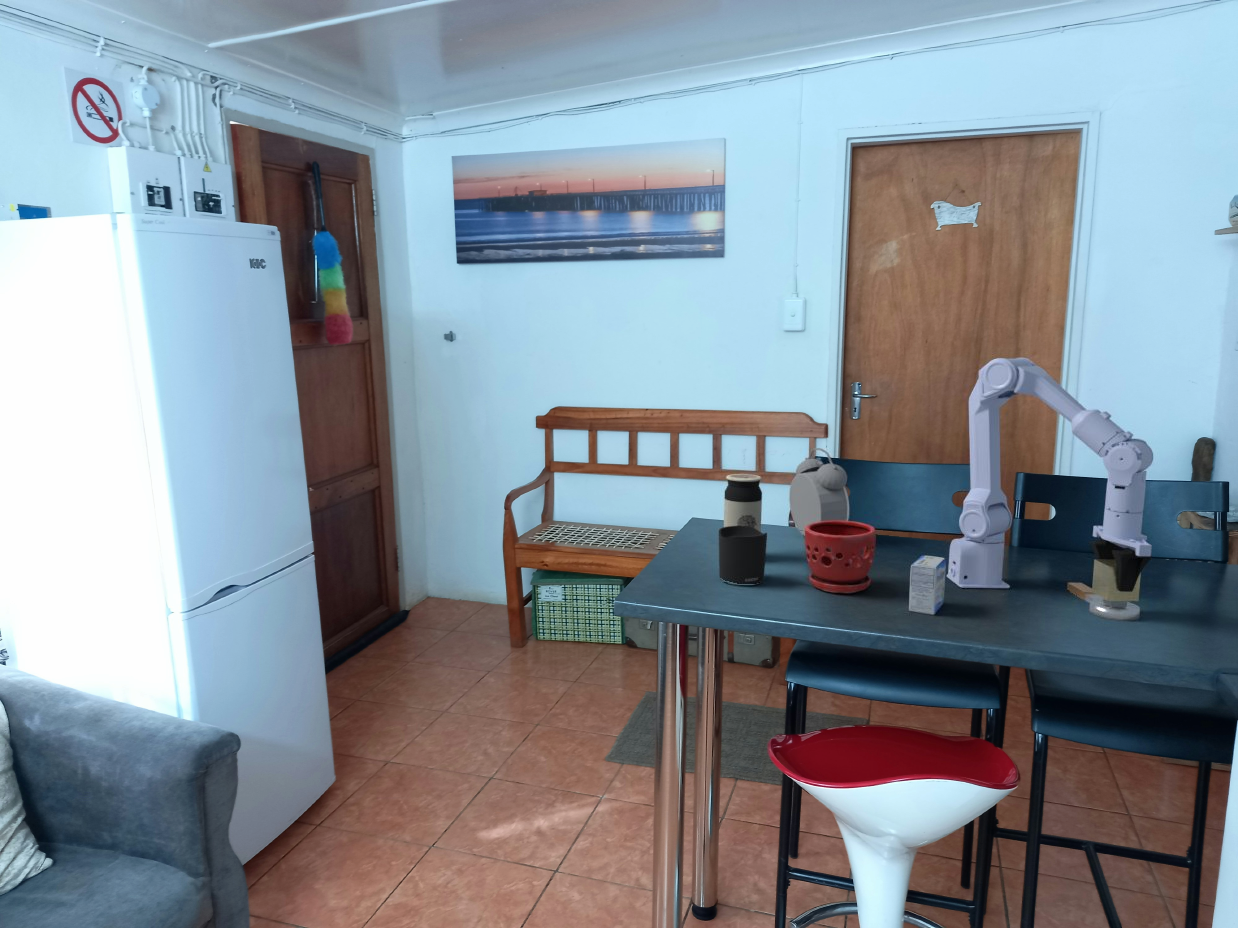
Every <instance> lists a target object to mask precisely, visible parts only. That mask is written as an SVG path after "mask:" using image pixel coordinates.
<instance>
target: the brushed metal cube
mask: <svg viewBox="0 0 1238 928" xmlns="http://www.w3.org/2000/svg"><path fill="white" fill-rule="evenodd" d="M1141 575H1142V572H1141V573H1140V575H1139V577H1138V579H1137V582H1136V584H1135V587H1134V589H1133V591H1132V592H1120V591H1119V589H1118V583H1117V566H1116V562H1115V559H1096V558H1095V559H1094V561H1093V575H1092V587H1091V588H1092V592H1093V593H1094V594H1096V595H1098V596H1100V597H1101V598H1103V599H1105V600H1107V601H1127V602H1139V600H1140V598H1139V597H1140V586H1141Z"/></svg>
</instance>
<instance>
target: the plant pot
mask: <svg viewBox="0 0 1238 928" xmlns="http://www.w3.org/2000/svg"><path fill="white" fill-rule="evenodd" d="M876 538H877V537H876V529H875V527H874V526H872V525H870V524H866V523H864V522H860V521H859V522H858V521H850V520H848V521H835V520H832V521H821V522H815V523H812V524H809V525H807V526H806V527H805V536H804V547H805V555H806V556H805V557H806V560H807V563H808V567H809V568H810V569H809V570H810V571H811V572H810V573H809V575H808V580H809V582H810V584H812V586H814V587H815V588H817V589H819V590H821V591H824V592H828V593H835V594H848V595H851V594H852V593H853V594H854V593H860V592H862V591H864V590H866V589H867V588H868V587H869V586H870V585H871V583H872V579H871V577H870V575H868V574H869V572H870V570H871V568H872V565H873V563H874V559H875V552H876V541H877V539H876ZM862 553H863V554H862Z"/></svg>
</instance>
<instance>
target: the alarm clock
mask: <svg viewBox="0 0 1238 928" xmlns="http://www.w3.org/2000/svg"><path fill="white" fill-rule="evenodd" d="M814 451H821V452H823V453H824V454H825V455H826V456H827V458H828V461H829V463H826V464H825V463H824V462H823V461H822V460H820V459H817V458H811V457H812V455H813V453H814ZM847 481H848V475H847V472H846V471H845V469H844V468H843V467H842V466H840V465H838V464H835V463H833V461H832V458H831V456H830V453H829V452H828V451H827V450H825V449H823V448H820V447H815V448H812V449H811V450H810V452H809V456H808V457H805V458H804V460H803V461H801V462H800V463H799V464H798V465H797V466H796V469H795V475H794V478H793V479H792V481H791V483H790V488H789V496H788V497H789V499H788V500H789V501H788V502H789V509H790V513H791V517H792V520H793V522H794V524H795V527H796V528H797V530H798V531H799V530H803V531H799V533H800V534H801V535H802V536H803V535H804V536H803V537H805V527H806V526H807V525H809V524H812V523H815V522H821V521H832V520H835V521H849V518H850V500H849V494H848V491H847V489H846V484H847Z"/></svg>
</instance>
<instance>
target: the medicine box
mask: <svg viewBox="0 0 1238 928" xmlns="http://www.w3.org/2000/svg"><path fill="white" fill-rule="evenodd" d="M946 563H947V558H945V557H940V556H933V555H921V556H920V557H919V558H918V559H917V560H916V561H914V562H913V563H912V564H911V566H910V573H909V574H910V576H909V596H908V597H909V599H908V600H909V601H908V611H909V612H912V613H917V614H923V615H931V616H935V614H936V613H937V612H938V611H939V609H940V608H941V607H942V605H944V601H945V585H946V582H945V581H946V569H947V567H946V566H947V565H946Z"/></svg>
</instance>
